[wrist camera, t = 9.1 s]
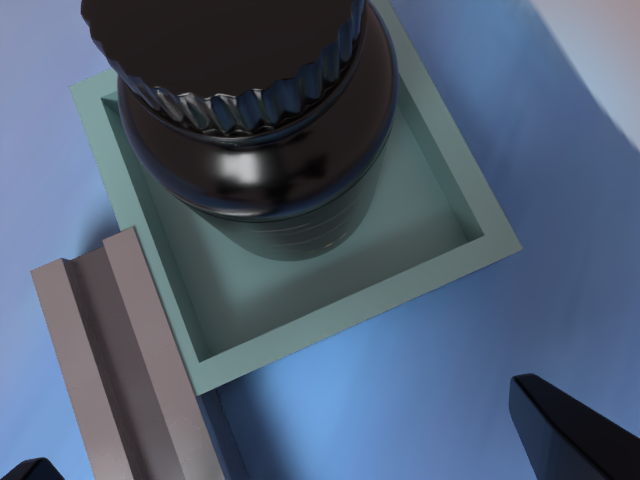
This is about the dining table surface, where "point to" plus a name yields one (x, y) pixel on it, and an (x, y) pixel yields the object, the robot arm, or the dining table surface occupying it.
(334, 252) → the tray
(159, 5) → the supplement bottle
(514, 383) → the robot arm
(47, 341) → the dining table surface
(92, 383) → the t-slot rail
